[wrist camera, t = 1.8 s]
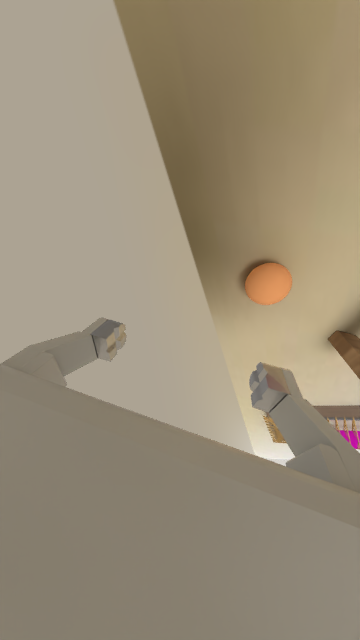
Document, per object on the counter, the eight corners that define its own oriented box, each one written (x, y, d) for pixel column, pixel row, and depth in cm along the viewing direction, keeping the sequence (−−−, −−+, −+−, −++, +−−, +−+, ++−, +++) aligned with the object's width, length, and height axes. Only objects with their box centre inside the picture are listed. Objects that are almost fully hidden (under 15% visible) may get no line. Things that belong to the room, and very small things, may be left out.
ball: (253, 254, 22) (260, 265, 17) (293, 263, 21) (310, 277, 17) (237, 289, 25) (240, 305, 21) (271, 298, 25) (282, 317, 20)
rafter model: (270, 428, 48) (275, 453, 43) (260, 402, 41) (264, 428, 37) (456, 437, 32) (497, 477, 28) (484, 398, 26) (543, 441, 21)
